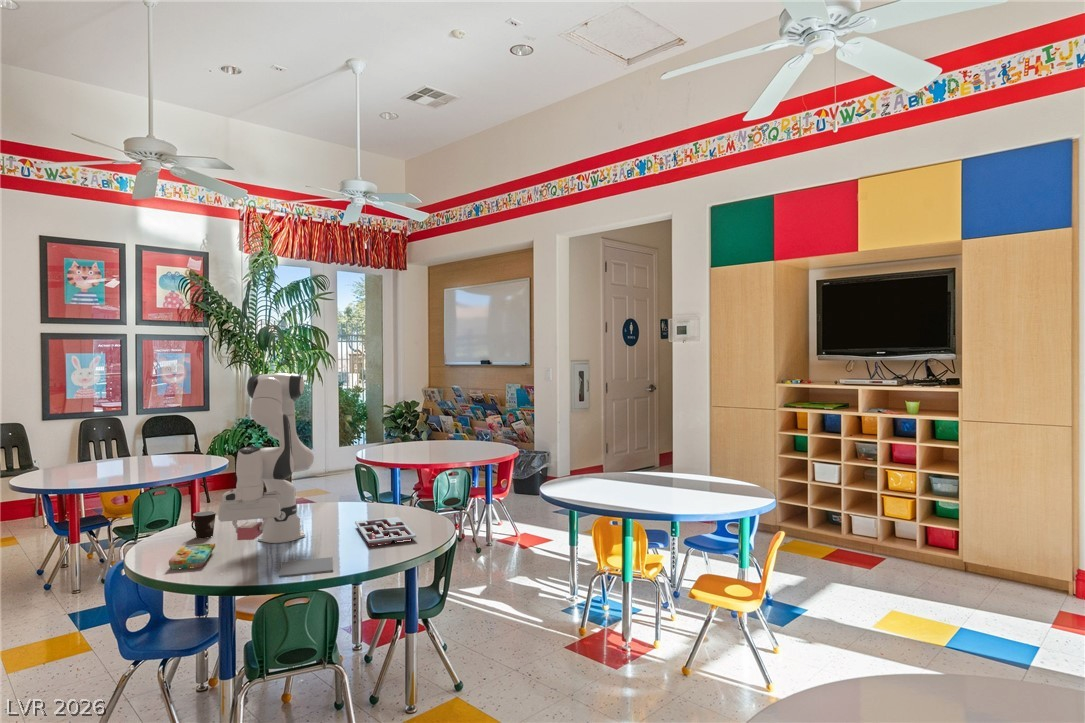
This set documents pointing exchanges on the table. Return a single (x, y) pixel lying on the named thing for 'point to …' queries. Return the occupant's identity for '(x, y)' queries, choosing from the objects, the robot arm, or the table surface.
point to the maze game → (394, 529)
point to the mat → (306, 567)
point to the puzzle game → (191, 556)
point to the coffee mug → (204, 523)
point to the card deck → (249, 531)
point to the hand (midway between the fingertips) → (250, 531)
